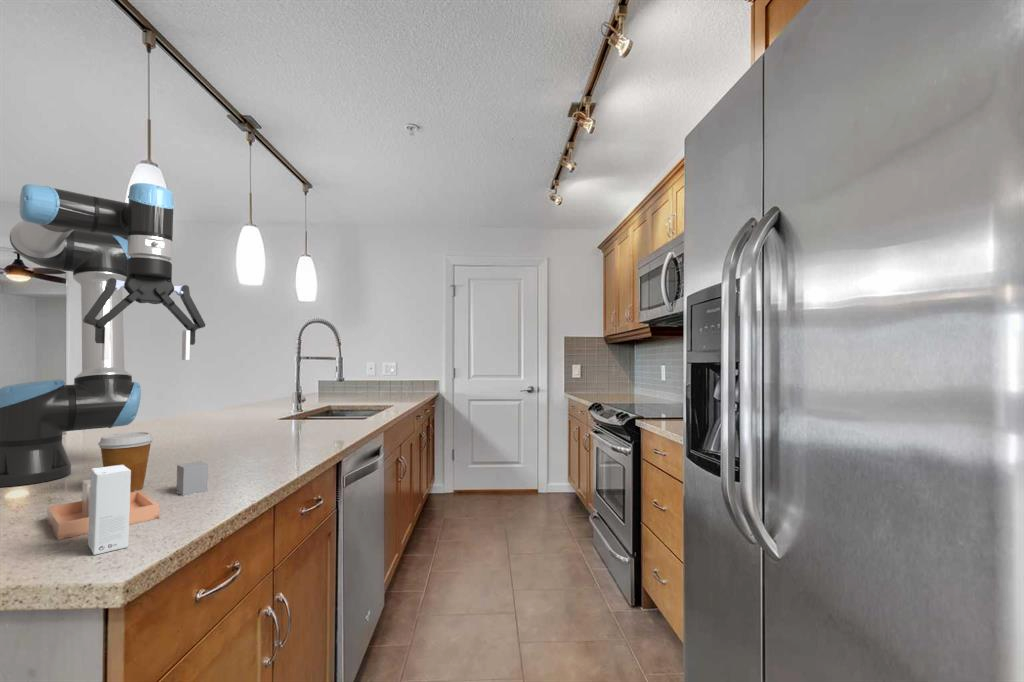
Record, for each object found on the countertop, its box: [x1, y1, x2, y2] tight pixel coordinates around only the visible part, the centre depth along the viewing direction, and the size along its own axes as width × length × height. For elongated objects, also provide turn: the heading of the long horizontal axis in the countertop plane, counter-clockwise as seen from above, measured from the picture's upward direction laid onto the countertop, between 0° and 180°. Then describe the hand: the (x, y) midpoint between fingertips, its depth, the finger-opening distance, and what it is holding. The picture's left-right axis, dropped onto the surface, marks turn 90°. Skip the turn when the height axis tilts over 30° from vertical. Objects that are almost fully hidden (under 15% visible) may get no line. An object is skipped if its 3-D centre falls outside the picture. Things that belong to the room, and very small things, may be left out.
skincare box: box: [87, 465, 131, 556], centre depth 74 cm, size 6×4×12 cm
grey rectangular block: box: [176, 461, 209, 497], centre depth 103 cm, size 4×4×6 cm
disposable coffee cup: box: [97, 431, 154, 492], centre depth 104 cm, size 10×10×12 cm
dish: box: [46, 490, 160, 541], centre depth 85 cm, size 13×13×2 cm
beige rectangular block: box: [81, 478, 91, 518], centre depth 87 cm, size 4×4×6 cm
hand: (147, 360), depth 99 cm, fingers open, 13 cm apart
